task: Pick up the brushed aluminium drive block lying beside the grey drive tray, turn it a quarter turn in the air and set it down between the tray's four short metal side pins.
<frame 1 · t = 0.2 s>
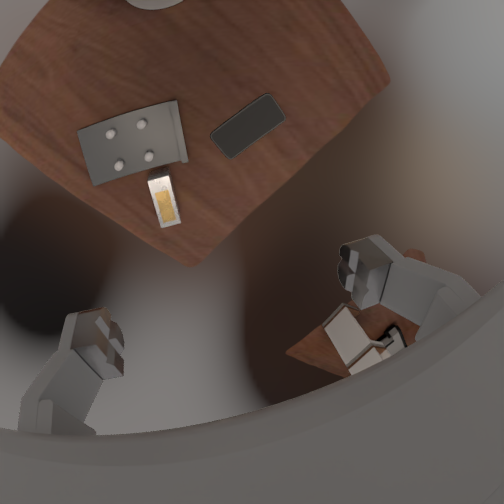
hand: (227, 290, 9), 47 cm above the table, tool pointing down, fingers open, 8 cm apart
white tower box: (340, 316, 96), on the table
drive tray: (131, 142, 45), on the table
smartphone: (247, 125, 51), on the table
drive: (164, 191, 53), on the table
game console: (382, 342, 126), on the table
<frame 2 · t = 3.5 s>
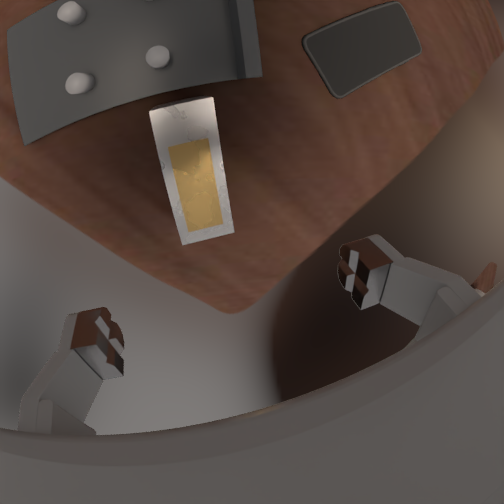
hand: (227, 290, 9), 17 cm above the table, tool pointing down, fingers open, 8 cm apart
drive tray: (118, 37, 14), on the table
smartphone: (366, 43, 19), on the table
drive: (189, 155, 22), on the table
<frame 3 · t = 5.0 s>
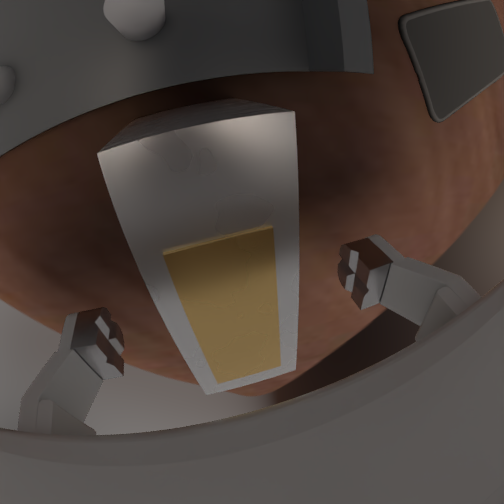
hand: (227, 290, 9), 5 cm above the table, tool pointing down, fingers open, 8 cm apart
smartphone: (463, 45, 10), on the table
drive: (204, 214, 12), on the table
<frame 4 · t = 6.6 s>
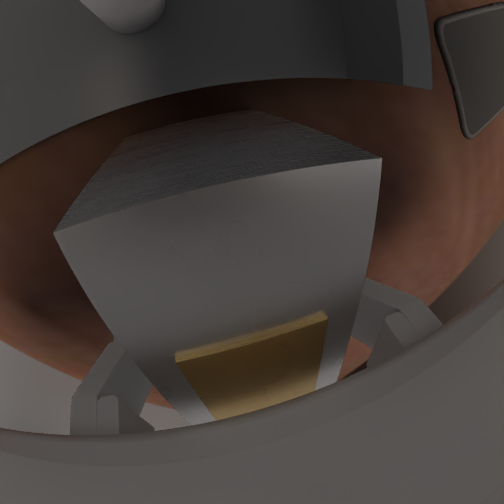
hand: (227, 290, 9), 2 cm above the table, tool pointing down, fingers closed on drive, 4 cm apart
smartphone: (490, 54, 8), on the table
drive: (216, 251, 10), on the table, touching gripper
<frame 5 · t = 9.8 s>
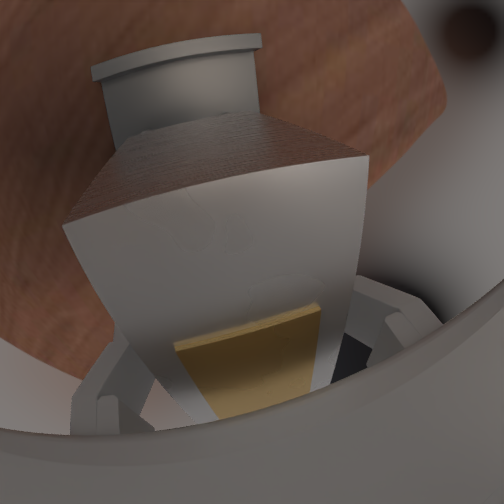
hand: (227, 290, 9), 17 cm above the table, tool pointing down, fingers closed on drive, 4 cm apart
drive tray: (192, 160, 22), on the table
drive: (215, 249, 11), point 14 cm above the table, touching gripper
when the fingers open (5 cm above the table, at t = 12.6 s): drive drops 1 cm, resting on drive tray.
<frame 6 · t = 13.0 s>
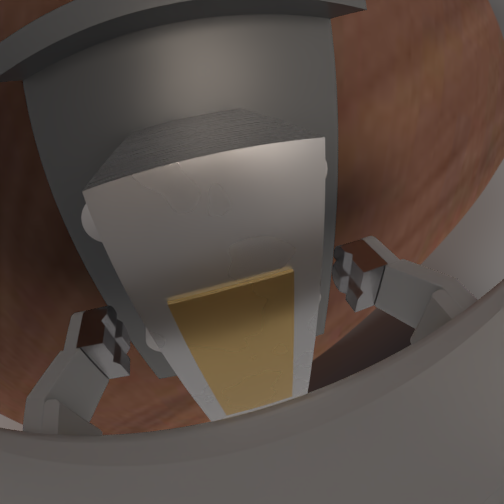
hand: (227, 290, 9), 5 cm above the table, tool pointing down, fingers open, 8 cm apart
drive tray: (207, 221, 13), on the table
drive: (209, 234, 12), point 1 cm above the table, touching drive tray
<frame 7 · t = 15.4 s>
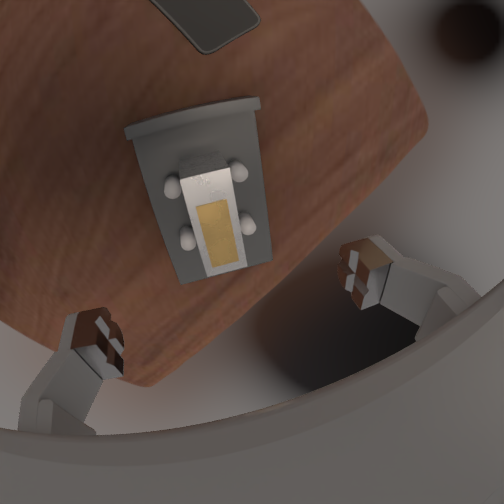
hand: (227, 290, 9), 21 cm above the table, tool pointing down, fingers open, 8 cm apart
drive tray: (208, 196, 29), on the table
drive: (208, 200, 28), point 1 cm above the table, touching drive tray
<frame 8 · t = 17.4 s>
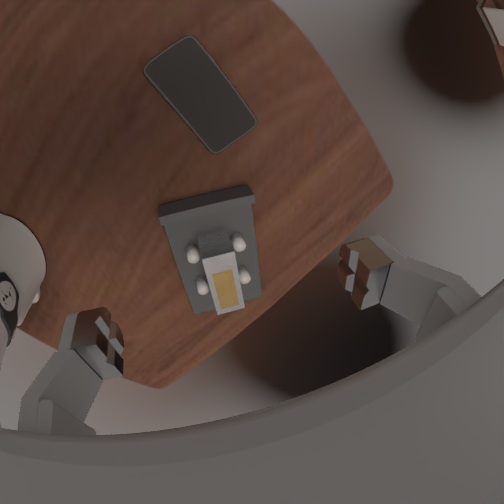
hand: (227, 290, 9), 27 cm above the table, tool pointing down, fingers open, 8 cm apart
white tower box: (488, 17, 23), on the table
drive tray: (216, 254, 41), on the table
smartphone: (201, 94, 28), on the table
drive: (217, 259, 40), point 1 cm above the table, touching drive tray
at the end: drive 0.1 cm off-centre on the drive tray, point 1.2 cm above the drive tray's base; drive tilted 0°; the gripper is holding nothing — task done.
